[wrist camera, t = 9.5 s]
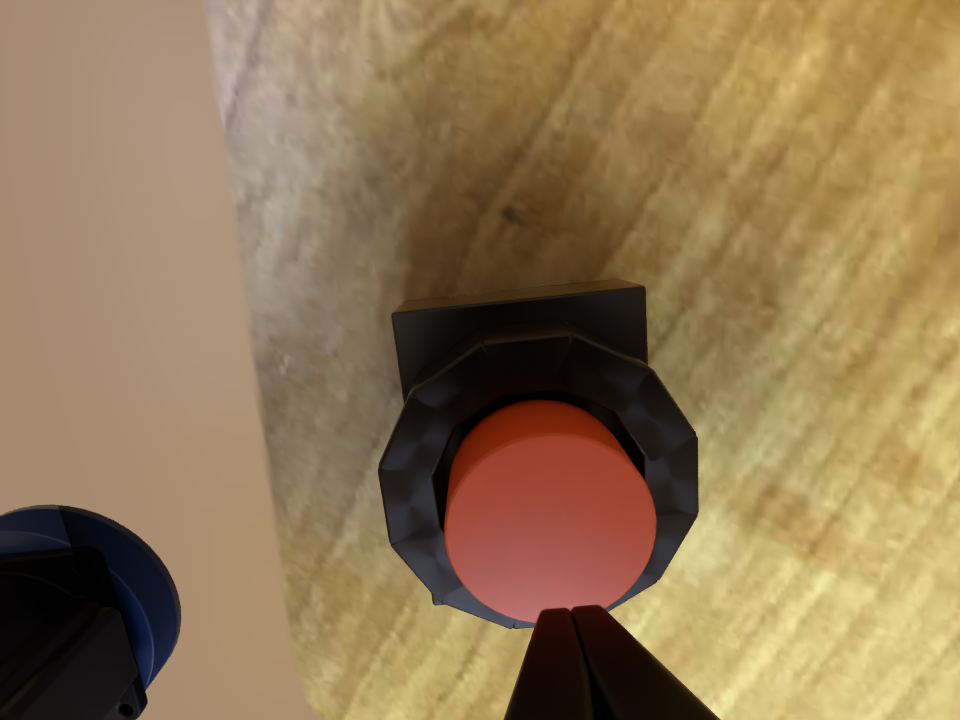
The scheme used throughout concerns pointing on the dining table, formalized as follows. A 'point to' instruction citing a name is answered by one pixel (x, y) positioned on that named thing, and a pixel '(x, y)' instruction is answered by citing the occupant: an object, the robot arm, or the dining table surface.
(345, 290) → the dining table surface
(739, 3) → the dining table surface
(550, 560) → the button
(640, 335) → the button block
